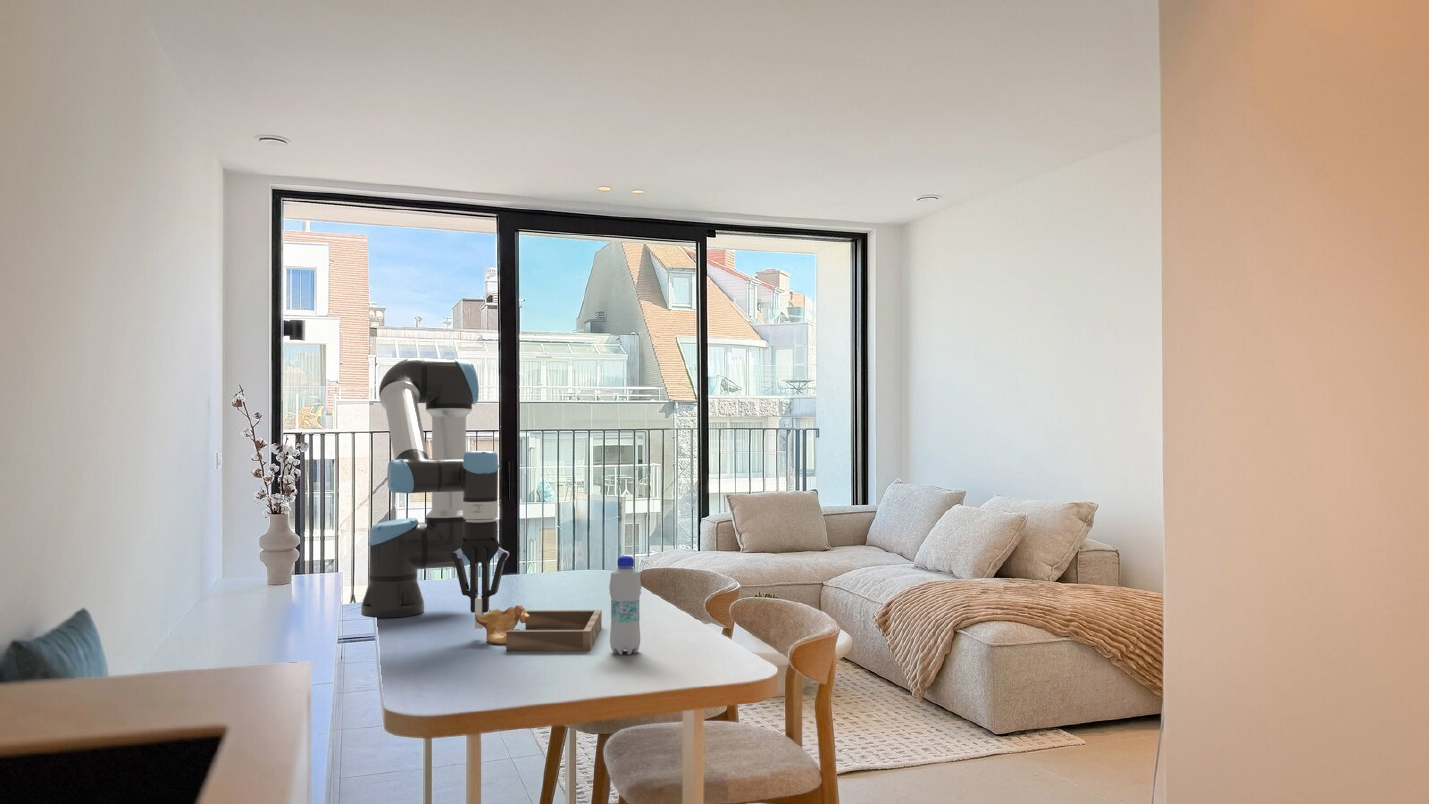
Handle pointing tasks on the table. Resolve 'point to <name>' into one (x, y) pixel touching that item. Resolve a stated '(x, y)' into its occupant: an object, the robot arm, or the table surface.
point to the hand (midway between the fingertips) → (479, 627)
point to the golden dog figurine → (501, 623)
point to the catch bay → (556, 631)
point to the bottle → (625, 607)
